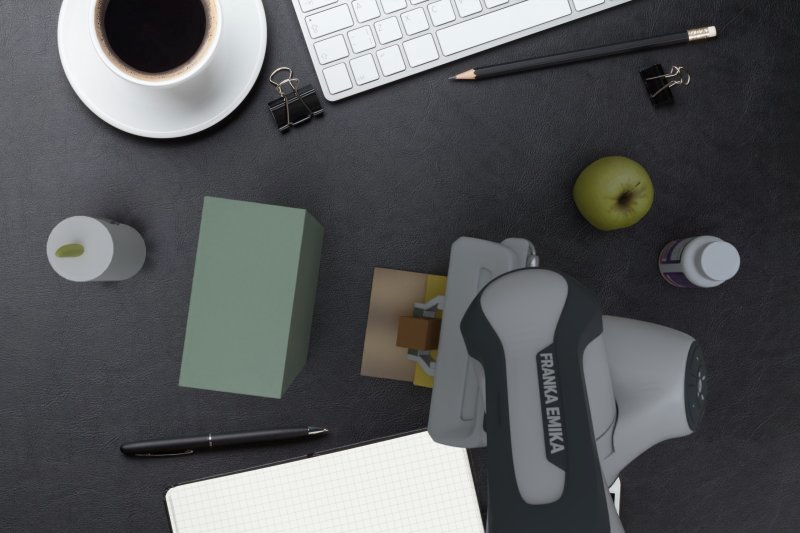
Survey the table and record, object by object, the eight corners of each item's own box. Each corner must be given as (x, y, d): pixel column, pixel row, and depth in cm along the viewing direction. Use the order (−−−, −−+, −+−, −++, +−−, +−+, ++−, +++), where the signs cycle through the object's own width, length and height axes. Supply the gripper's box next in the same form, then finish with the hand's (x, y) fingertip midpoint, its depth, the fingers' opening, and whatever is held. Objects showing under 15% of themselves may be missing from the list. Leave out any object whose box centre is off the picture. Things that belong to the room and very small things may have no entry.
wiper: (452, 389, 82) (422, 398, 73) (418, 383, 83) (384, 391, 74) (467, 279, 82) (439, 274, 73) (432, 275, 83) (401, 269, 75)
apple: (571, 146, 84) (625, 141, 74) (628, 173, 86) (686, 171, 77) (546, 213, 84) (597, 216, 74) (603, 238, 86) (659, 245, 77)
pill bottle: (710, 279, 85) (754, 279, 75) (665, 292, 85) (702, 294, 75) (696, 232, 85) (738, 227, 75) (651, 246, 85) (687, 242, 75)
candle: (155, 233, 83) (107, 224, 68) (133, 289, 83) (80, 292, 68) (101, 212, 83) (41, 198, 68) (79, 268, 83) (14, 266, 68)
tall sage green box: (306, 363, 83) (280, 399, 59) (233, 354, 83) (178, 386, 59) (324, 228, 84) (306, 209, 60) (252, 218, 83) (204, 195, 59)
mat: (538, 397, 84) (539, 398, 84) (360, 374, 84) (360, 375, 83) (552, 290, 84) (553, 290, 84) (374, 266, 84) (374, 266, 83)
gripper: (522, 234, 67) (407, 227, 76) (492, 465, 66) (380, 429, 76) (559, 243, 71) (446, 235, 81) (531, 459, 71) (421, 426, 81)
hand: (414, 330), depth 78 cm, fingers closed on wiper, 3 cm apart
